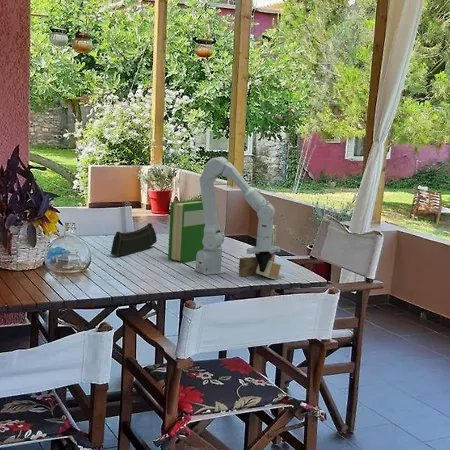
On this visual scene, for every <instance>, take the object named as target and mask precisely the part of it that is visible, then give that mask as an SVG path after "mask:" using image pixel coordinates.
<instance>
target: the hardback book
mask: <svg viewBox="0 0 450 450" xmlns="http://www.w3.org/2000/svg"><path fill="white" fill-rule="evenodd" d="M169 211H170V213H169V228H168V229H169V231H168V232H169V233H168V234H169V235H168V253H167V261H169V262H170V261H179V263H180V264H185V263H190V262H196V255H197V252H198V251H200V250H203V249H204V246H203V242H202V241H203V237H204V228H205V220H204V212H203V203H202V199H191V200H189V199H187V200H179V201H170V209H169Z"/></svg>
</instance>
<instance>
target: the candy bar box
mask: <svg viewBox="0 0 450 450" xmlns="http://www.w3.org/2000/svg"><path fill="white" fill-rule="evenodd" d="M276 236H277V225H274V224H273V234H272V246H276V241H277V239H276V238H277V237H276ZM275 253H276V252H270V254H272V257H271V258H270V261H272V262H275V260H276V259H275V257H276V254H275Z"/></svg>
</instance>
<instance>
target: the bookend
mask: <svg viewBox="0 0 450 450" xmlns="http://www.w3.org/2000/svg"><path fill="white" fill-rule="evenodd" d="M283 278H286V277H285V275H281V274H280V273H279V274H278V277H277V279H283Z"/></svg>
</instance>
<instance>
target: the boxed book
mask: <svg viewBox="0 0 450 450" xmlns="http://www.w3.org/2000/svg"><path fill="white" fill-rule="evenodd" d="M281 266H282V264H281V263H278V262H275V261H274V262H272V261H268V263H267V266H266V268H265V271H264V272H261V271H260V269H259V264H258V267H257V270H256V273H257V274H260V275H259V276H263V277H266V278H269V279H273V280H277V279H278V278H277V277H278V274H279V275H280V270H281Z"/></svg>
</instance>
